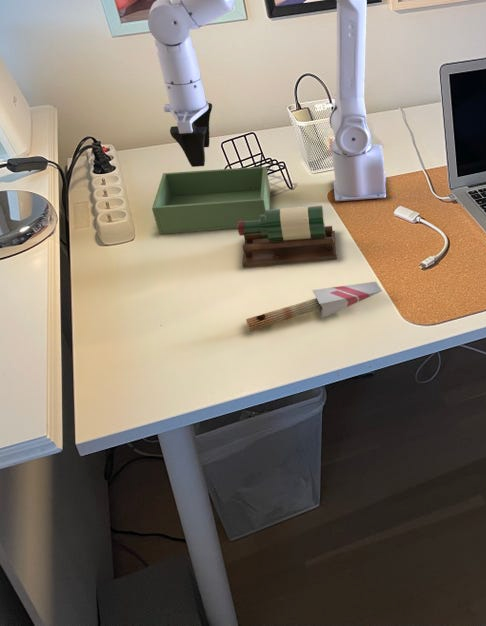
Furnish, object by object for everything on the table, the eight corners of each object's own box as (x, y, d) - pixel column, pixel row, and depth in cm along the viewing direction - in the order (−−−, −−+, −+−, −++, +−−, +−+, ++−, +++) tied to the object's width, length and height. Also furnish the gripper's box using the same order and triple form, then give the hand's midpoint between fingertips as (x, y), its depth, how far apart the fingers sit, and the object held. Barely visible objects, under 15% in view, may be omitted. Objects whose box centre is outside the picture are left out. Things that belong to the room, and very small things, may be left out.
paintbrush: (382, 285, 108) (248, 324, 101) (384, 299, 110) (252, 339, 103) (373, 271, 111) (242, 309, 104) (375, 286, 113) (246, 324, 106)
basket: (270, 190, 138) (266, 166, 134) (268, 225, 127) (263, 199, 124) (169, 198, 134) (163, 173, 131) (159, 234, 124) (151, 208, 121)
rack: (335, 234, 125) (333, 219, 124) (337, 259, 119) (335, 244, 117) (245, 242, 123) (242, 226, 121) (243, 267, 117) (239, 252, 115)
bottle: (325, 227, 123) (321, 199, 119) (326, 243, 119) (322, 215, 115) (242, 233, 120) (237, 205, 117) (240, 250, 116) (234, 222, 113)
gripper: (163, 65, 123) (182, 140, 131) (149, 96, 112) (170, 176, 120) (206, 63, 124) (222, 137, 132) (197, 93, 113) (215, 173, 121)
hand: (200, 156), depth 126 cm, fingers open, 7 cm apart
